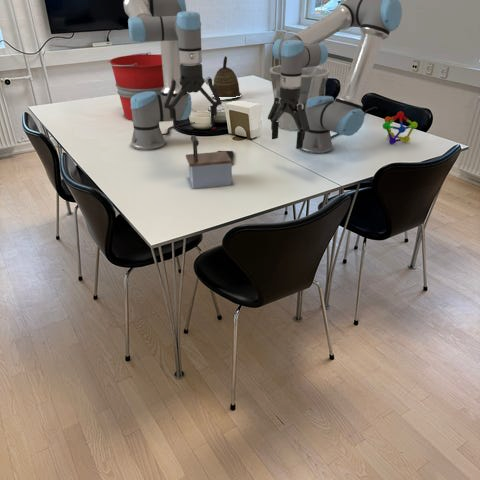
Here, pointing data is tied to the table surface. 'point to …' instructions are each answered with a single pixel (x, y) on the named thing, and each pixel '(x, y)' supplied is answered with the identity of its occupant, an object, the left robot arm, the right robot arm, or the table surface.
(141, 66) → the bucket
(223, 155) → the lid
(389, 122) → the educational toy
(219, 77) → the bell
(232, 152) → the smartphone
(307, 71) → the bucket
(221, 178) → the chest
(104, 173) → the table surface
